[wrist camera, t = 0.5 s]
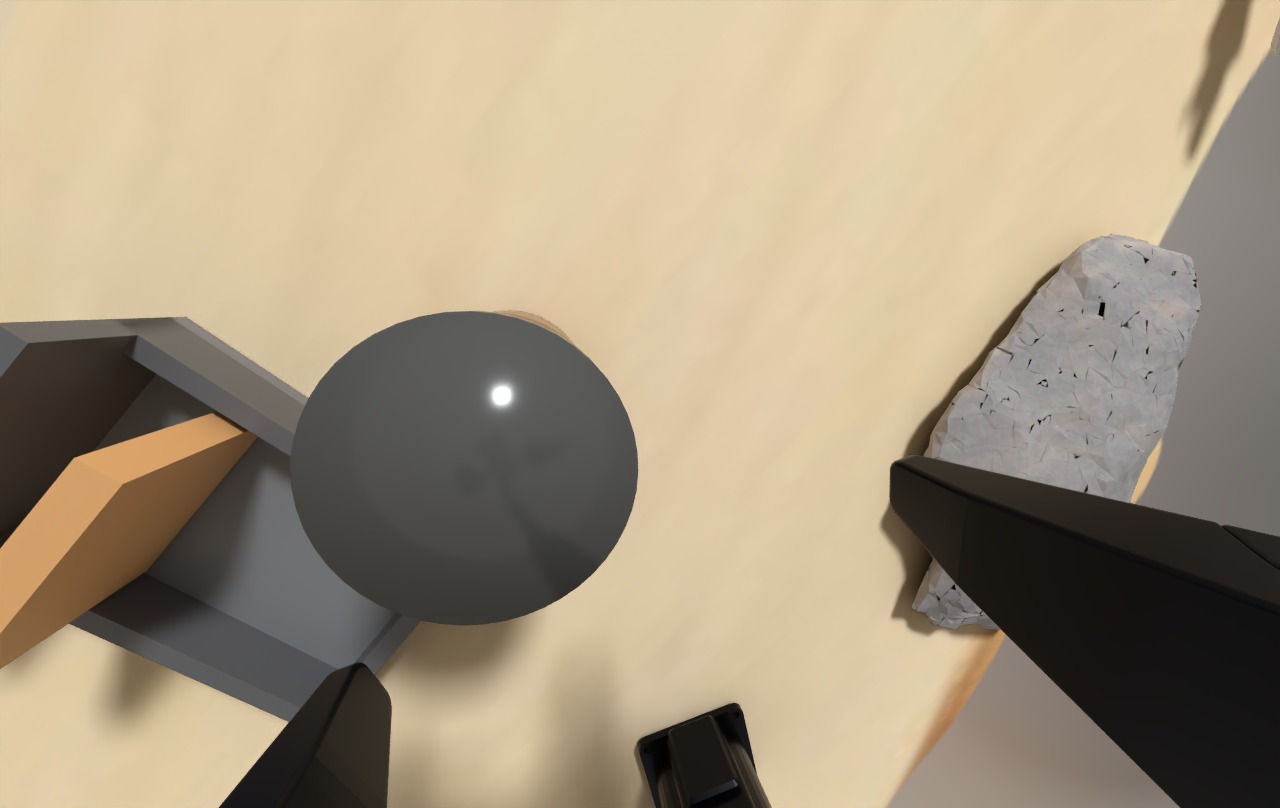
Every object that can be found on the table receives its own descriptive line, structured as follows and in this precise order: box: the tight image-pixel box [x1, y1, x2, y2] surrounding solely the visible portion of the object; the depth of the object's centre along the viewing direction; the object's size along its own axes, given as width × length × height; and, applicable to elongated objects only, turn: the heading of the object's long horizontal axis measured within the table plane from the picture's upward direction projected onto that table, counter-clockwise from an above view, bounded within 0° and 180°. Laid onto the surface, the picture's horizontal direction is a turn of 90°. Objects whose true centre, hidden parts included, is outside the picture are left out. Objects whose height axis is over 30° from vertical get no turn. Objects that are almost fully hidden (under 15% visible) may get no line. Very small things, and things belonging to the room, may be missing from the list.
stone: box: [912, 234, 1201, 630], centre depth 26 cm, size 16×5×25 cm
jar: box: [290, 310, 638, 625], centre depth 16 cm, size 7×7×12 cm
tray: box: [0, 317, 421, 722], centre depth 18 cm, size 15×11×7 cm
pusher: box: [0, 411, 258, 669], centre depth 16 cm, size 1×8×7 cm, turn 139°
